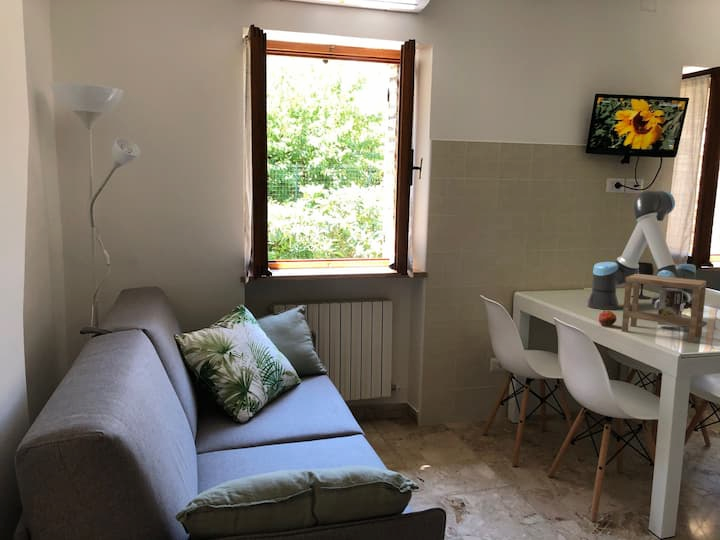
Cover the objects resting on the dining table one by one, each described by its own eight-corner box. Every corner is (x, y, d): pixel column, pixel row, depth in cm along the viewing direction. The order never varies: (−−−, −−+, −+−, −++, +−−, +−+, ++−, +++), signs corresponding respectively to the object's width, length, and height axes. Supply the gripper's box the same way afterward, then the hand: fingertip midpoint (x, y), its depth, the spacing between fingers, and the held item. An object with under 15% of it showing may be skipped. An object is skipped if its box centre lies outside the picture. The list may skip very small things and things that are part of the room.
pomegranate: (617, 332, 260) (614, 315, 267) (618, 322, 256) (615, 305, 262) (600, 332, 262) (597, 316, 269) (600, 322, 258) (597, 305, 264)
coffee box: (680, 324, 260) (684, 289, 258) (679, 327, 255) (683, 291, 252) (658, 321, 265) (661, 287, 262) (656, 324, 259) (659, 289, 257)
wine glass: (653, 299, 325) (656, 264, 322) (633, 299, 327) (636, 264, 324) (648, 296, 335) (651, 262, 332) (629, 295, 337) (631, 261, 334)
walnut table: (631, 325, 265) (635, 273, 261) (701, 335, 247) (706, 280, 243) (621, 331, 254) (625, 277, 250) (693, 342, 236) (699, 285, 232)
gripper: (706, 310, 265) (695, 318, 248) (653, 303, 280) (640, 311, 263) (707, 294, 264) (697, 301, 247) (654, 288, 278) (641, 294, 262)
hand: (668, 306), depth 255 cm, fingers closed on coffee box, 10 cm apart
